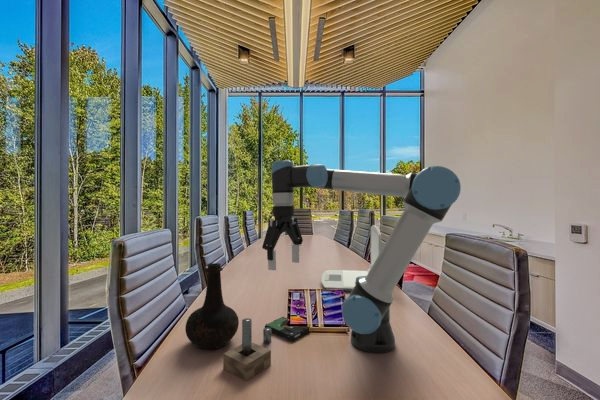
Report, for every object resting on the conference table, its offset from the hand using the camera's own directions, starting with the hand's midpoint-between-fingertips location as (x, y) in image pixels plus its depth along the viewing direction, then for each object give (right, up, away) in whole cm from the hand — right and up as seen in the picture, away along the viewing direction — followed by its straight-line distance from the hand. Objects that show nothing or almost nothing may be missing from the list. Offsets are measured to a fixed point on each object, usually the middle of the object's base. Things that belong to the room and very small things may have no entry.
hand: (284, 266), depth 104 cm
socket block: (-10, -27, -14) cm, 32 cm away
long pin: (-11, -27, -14) cm, 33 cm away
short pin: (-6, -27, +1) cm, 28 cm away
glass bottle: (-25, -28, +1) cm, 37 cm away
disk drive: (0, -28, +10) cm, 30 cm away
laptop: (+35, -28, +77) cm, 89 cm away
